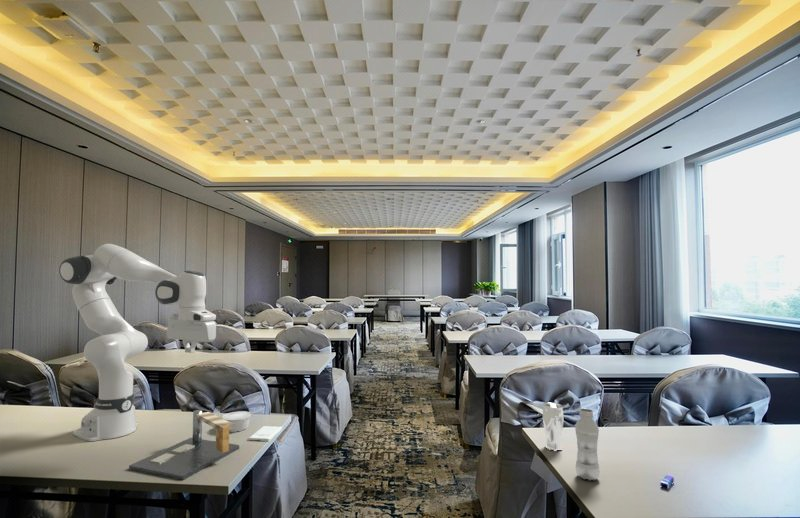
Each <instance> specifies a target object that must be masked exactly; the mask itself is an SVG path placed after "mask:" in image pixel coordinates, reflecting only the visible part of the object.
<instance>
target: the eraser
mask: <svg viewBox="0 0 800 518" xmlns="http://www.w3.org/2000/svg"><path fill="white" fill-rule="evenodd" d="M673 482H675V479H674V476H672V475H667V474H666V475H665V476H664V477H663V478H662V480H661V481H660V482H659V483H660V485H659V487H660V486H662V485H663V484H664V485H666V490H667V489H668V488H669V487H670V486H671V487H672V485H673V484H674V483H673ZM672 483H673V484H672ZM671 484H672V485H671ZM664 485H663V486H664ZM663 486H662V487H663ZM671 487H670V488H671ZM670 488H669V489H670ZM669 489H668V490H669Z"/></svg>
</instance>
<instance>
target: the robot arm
mask: <svg viewBox="0 0 800 518" xmlns="http://www.w3.org/2000/svg"><path fill="white" fill-rule="evenodd" d="M58 272H59V275H60V277H61V279H62V280H63V282H65V283H66V284H71V285H74V286H73V287H72V290H71V293H72V298H73V302H74V303H75V306H76V308H77V310H78V312H79V314H80V316H81V317H82V319H83V321H84V324H85V325H86V327H87V328H88V329H89V330H90V331H92V332H95V333H97V334H99V335H100V336H97V337H94V338H93V339H90V340H88V341H87V342H86V344H85V345H84V348H83V356H84V358H85V360H86V361H87V362H88V363H90V364H91V365H93V367H94V369H95V370H96V372H97V376H98V397H97V398H95V399H93V403H94V404H95V405H94V408H93V409H92V410H90V411H89V412H88V413H87V414H85V415H84V416H83V417H82V418H81V421H80V428H78V429H75V430H74V431H72V436H75V437H77V438H80V439H82V440H85V441H86V442H96V441H101V440H109V439H115V438H121V437H124V436H126V435H129V434H132V433H134V432H135V431H136V430H137V426H138V425H139V423H138V421H137V416H136V407H135V405H134V403H135V393H134V374H133V372H132V371H130V370H128V369H127V366H126V363H125V359H130V358H131V359H132V358H133V357H136V356H138V355H140V354H141V353H144V352H145V351H146V350H147V347H148V346H149V341H148V339H149V338H148V336H147V335H146V334H145V333H144V332H142V331H139V330H137V329H135V327H133V326H132V325H131V324H130V323H128V322H127V321H126V320H125V319H124V318H123V316H122V315H121V314H120V313H119V311H118V310H117V307H116V306H115V305H114V302H113V301H112V299H111V297H110V296H109V294H108V293H107V289H106V285H113V284H114V283H115V281H116V280H117V279H119V280H122V281H125V282H133V283H150V284H155V285H157V286H156V287H155V289H154V291H155V292H154V295H155V298H156V301H157V302H159V303H160V304H161V305H164V306H174V305H175V306H176V305H178V311H177V312H178V313H172V315H170V316H169V320H168V324H167V327H166V328H167V329H166V338H167V339H172V340H180V341H182V345H183V347H184V352H185V353H189V354H193V353H195V352H196V350H195V349H196V348H197V346H198V344H199V342H202V343H210V342H214V341H215V339H216V338H217V325H216V320H217V315H216V314H215V313H213V312H211V311H209V310H207V309H206V302H205V299H206V296H207V278H206V275H205V274H204V273H202V272H199V271H195V270H183V271H181V273H180V274H176V273H174V272H171V271H170V270H167V269H165V268H163V267H161V266H159V265H157V264H155V263H153V262H151V261H149V260H147V259H145V258H144V257H141V256H140V255H138V254H136V253H135V252H134V251H131V250H129V249H127V248H125V247H123V246H120V245H117V244H113V243H104V244H101V245H100V246H99V247H97V248H96V249H95V250H94V253H93V254H90V255H77V256H72V257H68V258H66V259H64V260H63V261H61V264H60V266H59V270H58Z"/></svg>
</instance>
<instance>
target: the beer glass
mask: <svg viewBox="0 0 800 518" xmlns="http://www.w3.org/2000/svg"><path fill="white" fill-rule="evenodd" d="M542 422H543V428H544V434H545V441H544V448H545V447H546V448H548V449H550V450H561V449H564V447H563V442H562V435H563V428H564V407H563V405H562V404H560V403H557V402H544V403H543V404H542ZM546 448H545V449H546ZM548 449H547V450H548ZM550 450H549V451H550Z"/></svg>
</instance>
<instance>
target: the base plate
mask: <svg viewBox="0 0 800 518" xmlns="http://www.w3.org/2000/svg"><path fill="white" fill-rule="evenodd" d="M201 413H203V410H202V409H196V410H193V411H192V437H189V438H186V439H183V440H182V441H180V442H178V443H176V444H174V445H171V446H169V447H167V448H164V449H162V450H160V451H158V452H156V453H154V454H152V455H149V456H147V457H145V458H143V459H141V460H139V461H136V462H134V463H132V464H129V466H128V470H131V471H135V472H140V473H146V474H149V473H151V474H150V475H154V476H160V477H166V478H171V479H175V480H180V481H185V480H186V479H188V478H190V477H191V476H193V475H195V474H197V473H198V472H200V471H202V470H203V469H205V468H207V467H210V466H211V465H213V464H215V463H217V462H218V461H220V460H221V459H223V458H225V457H227V456H229V455H230V454H232V453H234V452H236V451H237V450H239V449H240V444H234V443H229V451H227V452H224V453H222V452H220V451H218V450H217V449H216V440H209V439H202V437H203V436H202V435H203V422H202V421H201V420H199V419H197V414H201Z"/></svg>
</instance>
